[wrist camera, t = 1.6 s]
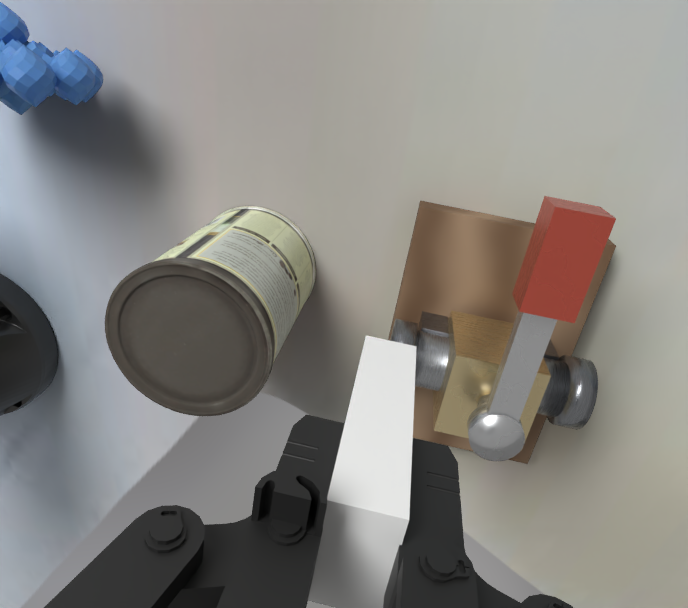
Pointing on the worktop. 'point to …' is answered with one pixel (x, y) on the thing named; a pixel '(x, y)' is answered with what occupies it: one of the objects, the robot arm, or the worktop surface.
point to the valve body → (490, 372)
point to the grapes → (40, 69)
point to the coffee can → (212, 312)
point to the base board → (474, 289)
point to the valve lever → (539, 315)
